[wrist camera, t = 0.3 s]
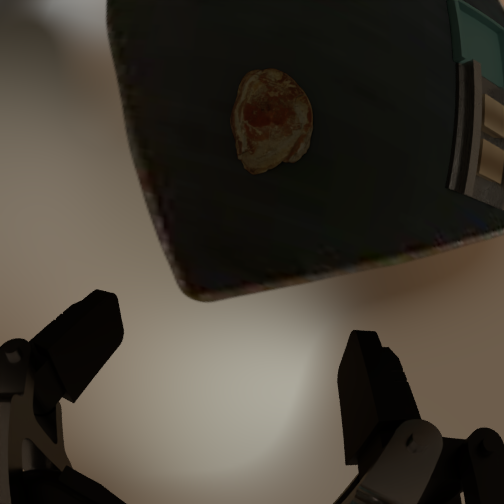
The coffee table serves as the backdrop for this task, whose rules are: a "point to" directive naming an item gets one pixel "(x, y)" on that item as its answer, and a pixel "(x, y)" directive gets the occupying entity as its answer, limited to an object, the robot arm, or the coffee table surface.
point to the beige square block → (490, 162)
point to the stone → (270, 120)
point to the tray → (477, 40)
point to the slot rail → (473, 136)
